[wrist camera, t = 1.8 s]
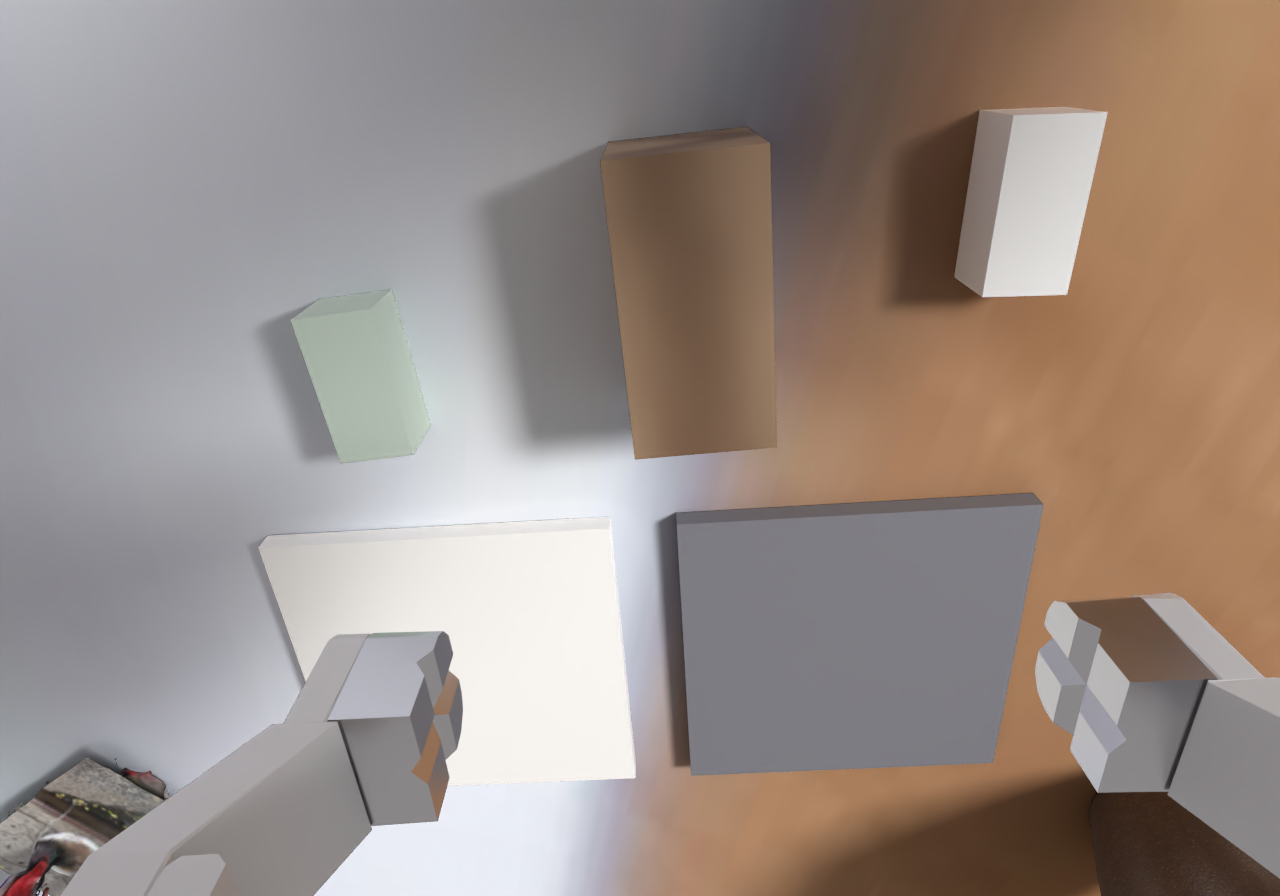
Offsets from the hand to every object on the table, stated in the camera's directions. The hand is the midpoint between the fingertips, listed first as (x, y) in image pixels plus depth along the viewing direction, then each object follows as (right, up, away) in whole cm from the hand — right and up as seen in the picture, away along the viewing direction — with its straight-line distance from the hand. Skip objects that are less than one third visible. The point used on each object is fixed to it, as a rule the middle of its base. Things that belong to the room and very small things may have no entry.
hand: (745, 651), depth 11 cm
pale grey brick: (+12, +12, +18) cm, 25 cm away
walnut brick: (0, +10, +20) cm, 22 cm away
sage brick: (-12, +6, +21) cm, 26 cm away
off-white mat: (-10, -8, +28) cm, 31 cm away
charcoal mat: (+9, -7, +28) cm, 30 cm away
